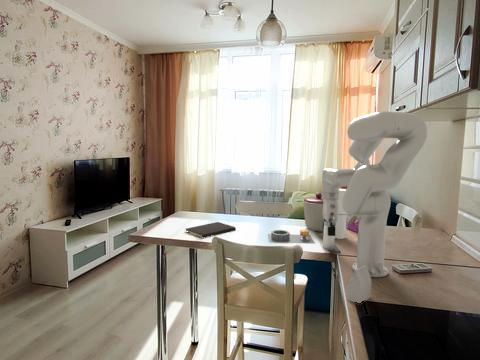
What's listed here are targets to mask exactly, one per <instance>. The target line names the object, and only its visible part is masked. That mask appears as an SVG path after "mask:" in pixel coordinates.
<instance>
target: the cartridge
mask: <svg viewBox="0 0 480 360" xmlns="http://www.w3.org/2000/svg"><path fill="white" fill-rule="evenodd" d="M335 223H336V222H335ZM330 224H331V222H330ZM335 225H336V224H335ZM328 227H329V225H328V222H327V221H324V231H323V236H322V248H324V249H326V250H327V251H328V250H333V249H334V245H335V239H336V238H335V236H328Z"/></svg>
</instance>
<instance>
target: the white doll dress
mask: <svg viewBox="0 0 480 360" xmlns="http://www.w3.org/2000/svg"><path fill="white" fill-rule="evenodd" d="M371 289H372V277H370V275H369V272H368V269H367V265H366V266H365V265H364V266H362V267H360V268H358V269H356V270H353V272H352V275H351V277H350V279H349V280H348V292H347V293H348V294H347V300H348V301H349V302H352V301H353V303H354V302H357V303H361V302H362V301H364V300H366V301H368V300H369V299H371V295H372V294H371V293H372V290H371ZM364 302H365V301H364ZM357 303H356V304H357ZM361 304H362V303H361Z"/></svg>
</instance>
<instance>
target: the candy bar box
mask: <svg viewBox="0 0 480 360" xmlns="http://www.w3.org/2000/svg"><path fill="white" fill-rule="evenodd" d="M361 216H362V215H357V216H354V215H349V214H347V218H346V230H350V231H353V232H355V233H357V234H358V225H359V221H360V218H361Z"/></svg>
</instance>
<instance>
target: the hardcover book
mask: <svg viewBox="0 0 480 360" xmlns="http://www.w3.org/2000/svg"><path fill="white" fill-rule="evenodd" d="M236 230H237V229H236V227H235V226H233V225H230V224H226V223H223V222H220V221H217V222H210V223H205V224H202V225H197V226H192V227H191V226H190V227H188V228H187V227H186V228H185V232H186V231H188V232H190V233H193V234H195V235H194V236H196V235H198V236H200V237H199V238H201V237H205V238H208V237H207V236H210V237H212V236H211V235H214V236H217V234H218V235H221V234H225V233H229V232H230V233H231V232H233V231H236ZM188 232H187V233H188ZM190 233H189V234H190ZM193 234H192V235H193ZM198 236H197V237H198Z"/></svg>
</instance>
